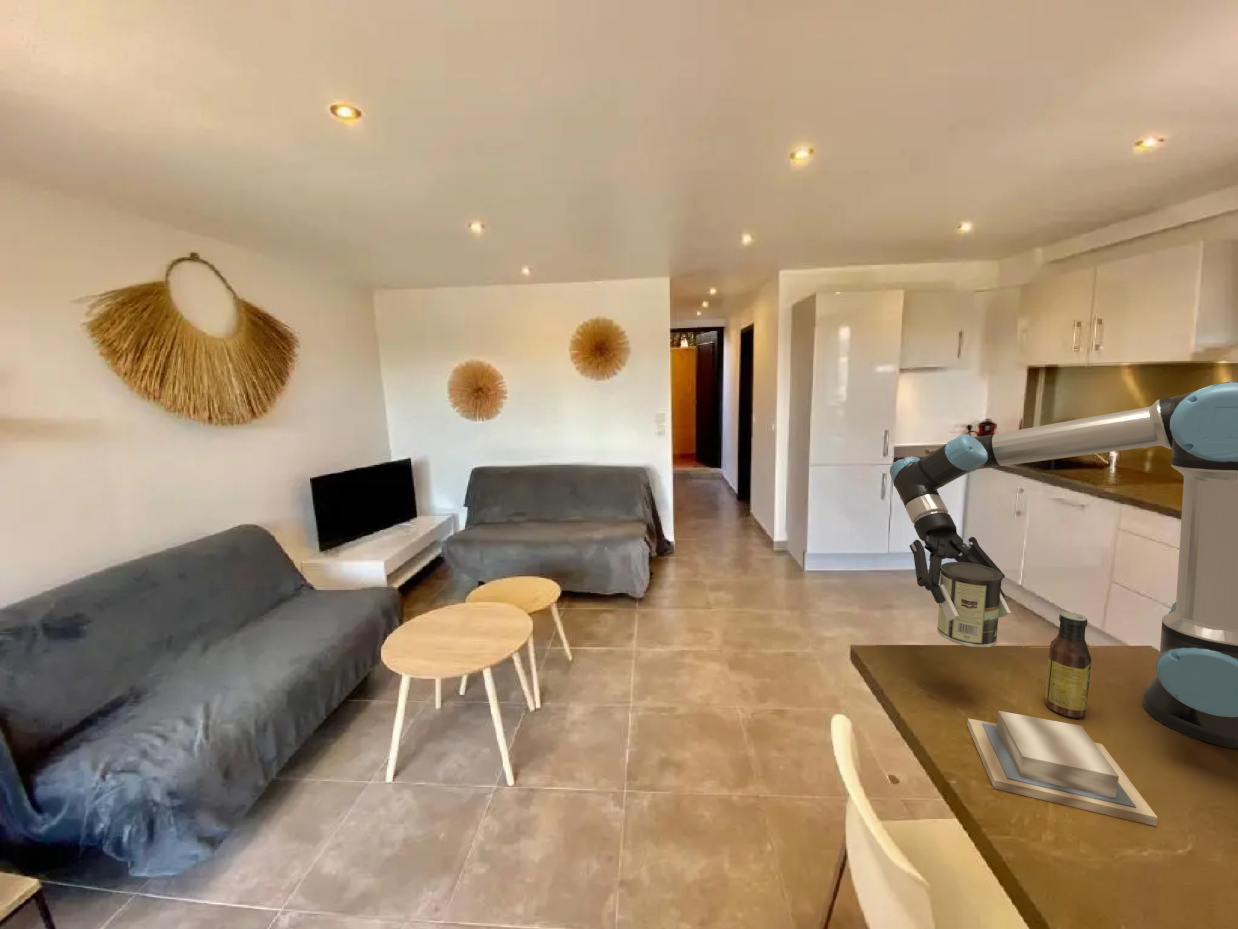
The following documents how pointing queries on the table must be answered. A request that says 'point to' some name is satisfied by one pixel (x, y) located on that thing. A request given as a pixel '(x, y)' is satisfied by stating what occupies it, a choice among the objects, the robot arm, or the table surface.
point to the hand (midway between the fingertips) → (979, 616)
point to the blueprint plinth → (1057, 795)
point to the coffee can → (971, 603)
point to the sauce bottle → (1069, 668)
